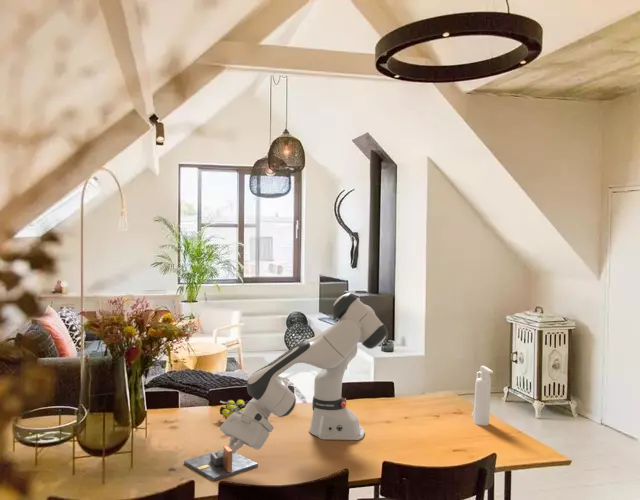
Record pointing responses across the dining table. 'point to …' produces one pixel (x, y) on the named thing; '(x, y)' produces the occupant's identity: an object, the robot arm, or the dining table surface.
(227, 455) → the copper and grey fixture
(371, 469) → the dining table surface
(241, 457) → the mount plate
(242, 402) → the toy
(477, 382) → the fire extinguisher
